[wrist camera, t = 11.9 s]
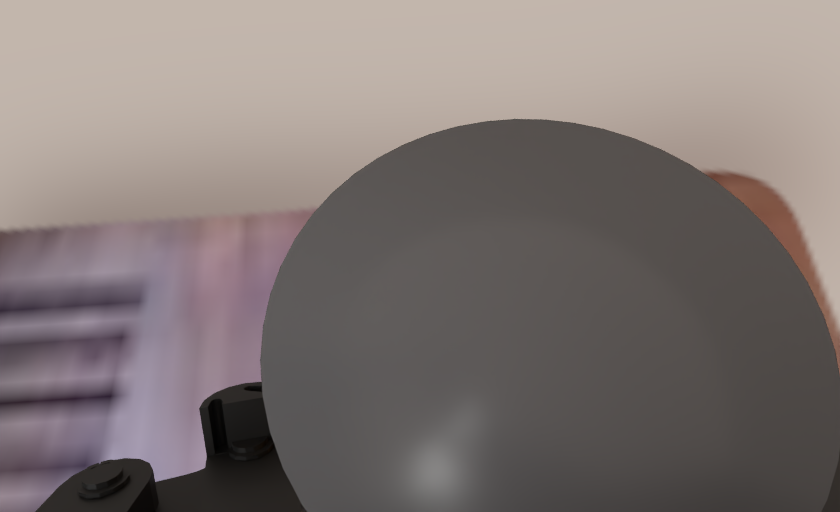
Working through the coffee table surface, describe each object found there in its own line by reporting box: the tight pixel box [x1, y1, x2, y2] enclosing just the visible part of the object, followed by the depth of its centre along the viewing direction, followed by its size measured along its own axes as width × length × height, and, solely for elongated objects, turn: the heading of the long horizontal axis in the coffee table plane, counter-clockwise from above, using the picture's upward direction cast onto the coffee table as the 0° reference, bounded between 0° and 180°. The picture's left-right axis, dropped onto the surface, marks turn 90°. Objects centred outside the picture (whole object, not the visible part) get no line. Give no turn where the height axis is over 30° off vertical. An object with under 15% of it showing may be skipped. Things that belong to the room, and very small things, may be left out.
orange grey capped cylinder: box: [260, 119, 840, 512], centre depth 12 cm, size 6×6×14 cm
